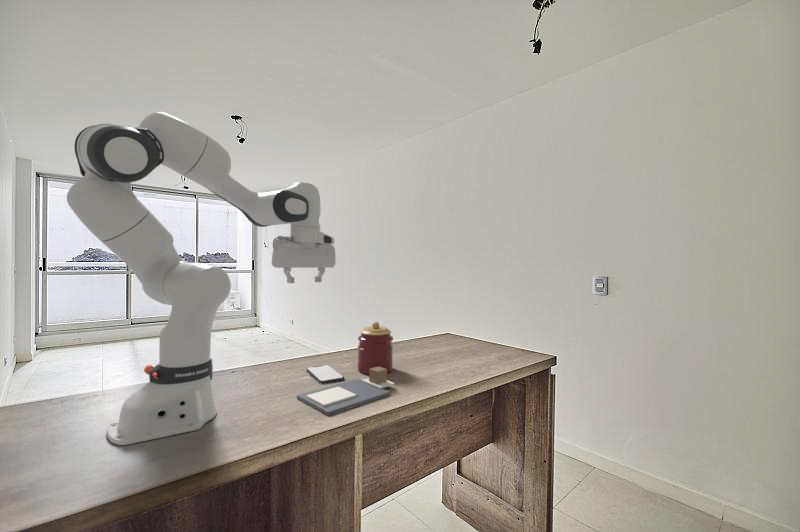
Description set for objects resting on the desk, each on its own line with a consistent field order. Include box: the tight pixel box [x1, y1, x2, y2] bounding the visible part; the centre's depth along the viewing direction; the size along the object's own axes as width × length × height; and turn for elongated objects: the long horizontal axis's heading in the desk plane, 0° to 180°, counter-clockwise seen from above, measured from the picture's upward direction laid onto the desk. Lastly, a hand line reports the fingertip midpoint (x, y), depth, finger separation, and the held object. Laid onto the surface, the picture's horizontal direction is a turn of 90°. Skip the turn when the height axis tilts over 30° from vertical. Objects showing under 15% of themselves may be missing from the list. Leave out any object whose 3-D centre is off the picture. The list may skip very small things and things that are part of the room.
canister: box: [357, 321, 394, 375], centre depth 136 cm, size 13×13×18 cm
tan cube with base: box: [361, 367, 395, 389], centre depth 118 cm, size 6×9×4 cm, turn 45°
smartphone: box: [306, 364, 345, 385], centre depth 128 cm, size 9×2×16 cm
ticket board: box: [296, 378, 391, 417], centre depth 109 cm, size 22×16×2 cm
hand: (304, 282), depth 113 cm, fingers open, 8 cm apart
